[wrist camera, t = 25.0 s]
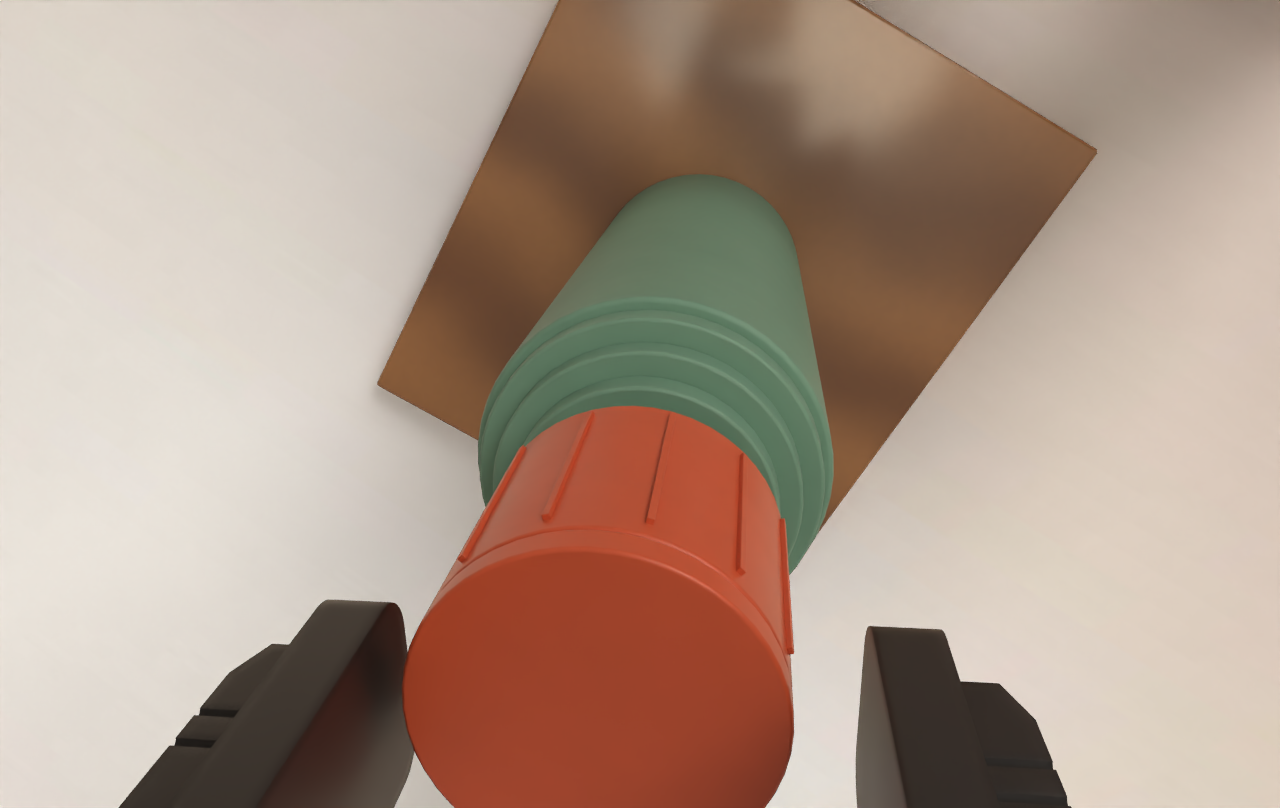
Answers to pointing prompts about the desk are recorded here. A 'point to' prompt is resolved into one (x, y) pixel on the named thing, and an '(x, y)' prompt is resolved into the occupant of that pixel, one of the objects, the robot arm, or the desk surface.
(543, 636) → the cap
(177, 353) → the desk surface
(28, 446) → the desk surface
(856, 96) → the mat
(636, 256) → the bottle
